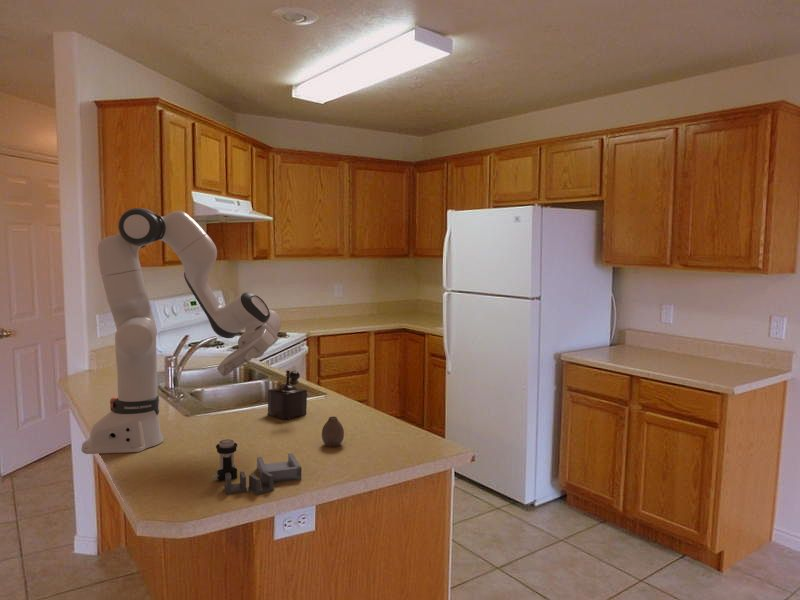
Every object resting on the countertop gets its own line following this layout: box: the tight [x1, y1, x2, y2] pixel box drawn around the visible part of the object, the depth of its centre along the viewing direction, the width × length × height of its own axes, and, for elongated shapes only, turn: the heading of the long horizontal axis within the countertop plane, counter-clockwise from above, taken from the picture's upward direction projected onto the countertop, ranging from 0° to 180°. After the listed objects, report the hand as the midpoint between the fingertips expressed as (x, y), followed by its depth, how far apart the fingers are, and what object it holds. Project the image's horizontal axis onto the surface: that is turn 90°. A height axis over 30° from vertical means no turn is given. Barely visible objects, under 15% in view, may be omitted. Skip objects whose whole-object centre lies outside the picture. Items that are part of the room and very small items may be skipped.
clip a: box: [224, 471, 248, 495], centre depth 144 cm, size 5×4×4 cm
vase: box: [321, 416, 345, 448], centre depth 179 cm, size 7×7×9 cm
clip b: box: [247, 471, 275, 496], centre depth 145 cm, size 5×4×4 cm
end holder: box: [256, 453, 302, 484], centre depth 155 cm, size 10×12×3 cm
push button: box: [211, 438, 238, 482], centre depth 151 cm, size 7×5×10 cm
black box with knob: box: [267, 369, 308, 421], centre depth 209 cm, size 16×11×18 cm
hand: (234, 367), depth 167 cm, fingers open, 8 cm apart
